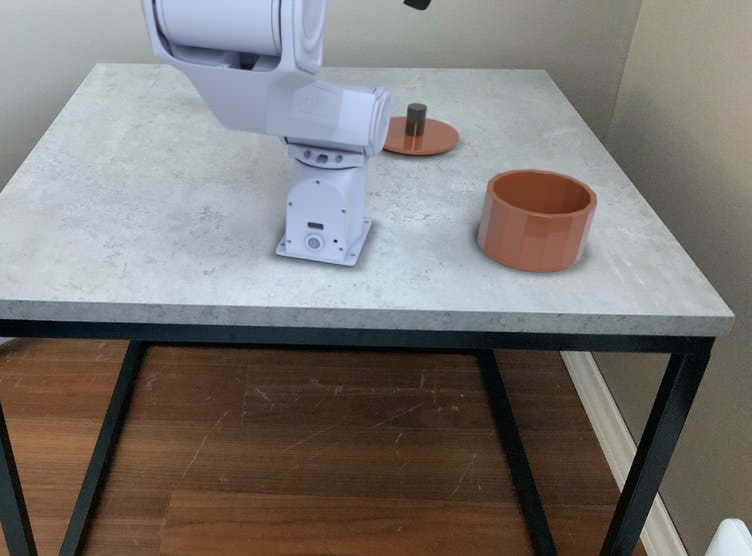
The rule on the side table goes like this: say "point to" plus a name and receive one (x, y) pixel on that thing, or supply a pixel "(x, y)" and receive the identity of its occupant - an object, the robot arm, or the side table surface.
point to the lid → (419, 133)
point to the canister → (536, 220)
